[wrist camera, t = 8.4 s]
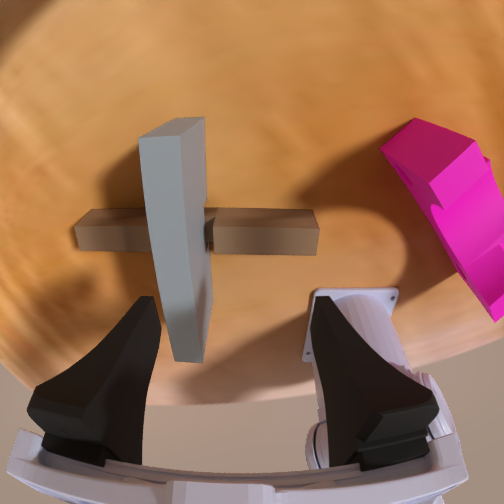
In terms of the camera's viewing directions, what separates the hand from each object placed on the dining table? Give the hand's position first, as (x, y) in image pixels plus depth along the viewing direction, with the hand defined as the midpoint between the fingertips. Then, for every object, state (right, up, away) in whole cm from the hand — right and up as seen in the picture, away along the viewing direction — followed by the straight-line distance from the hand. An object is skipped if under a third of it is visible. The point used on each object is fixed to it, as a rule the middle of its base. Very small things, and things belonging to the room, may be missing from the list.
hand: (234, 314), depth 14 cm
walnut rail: (-3, +5, +9) cm, 11 cm away
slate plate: (-3, +5, +9) cm, 11 cm away
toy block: (+17, +7, +8) cm, 20 cm away
